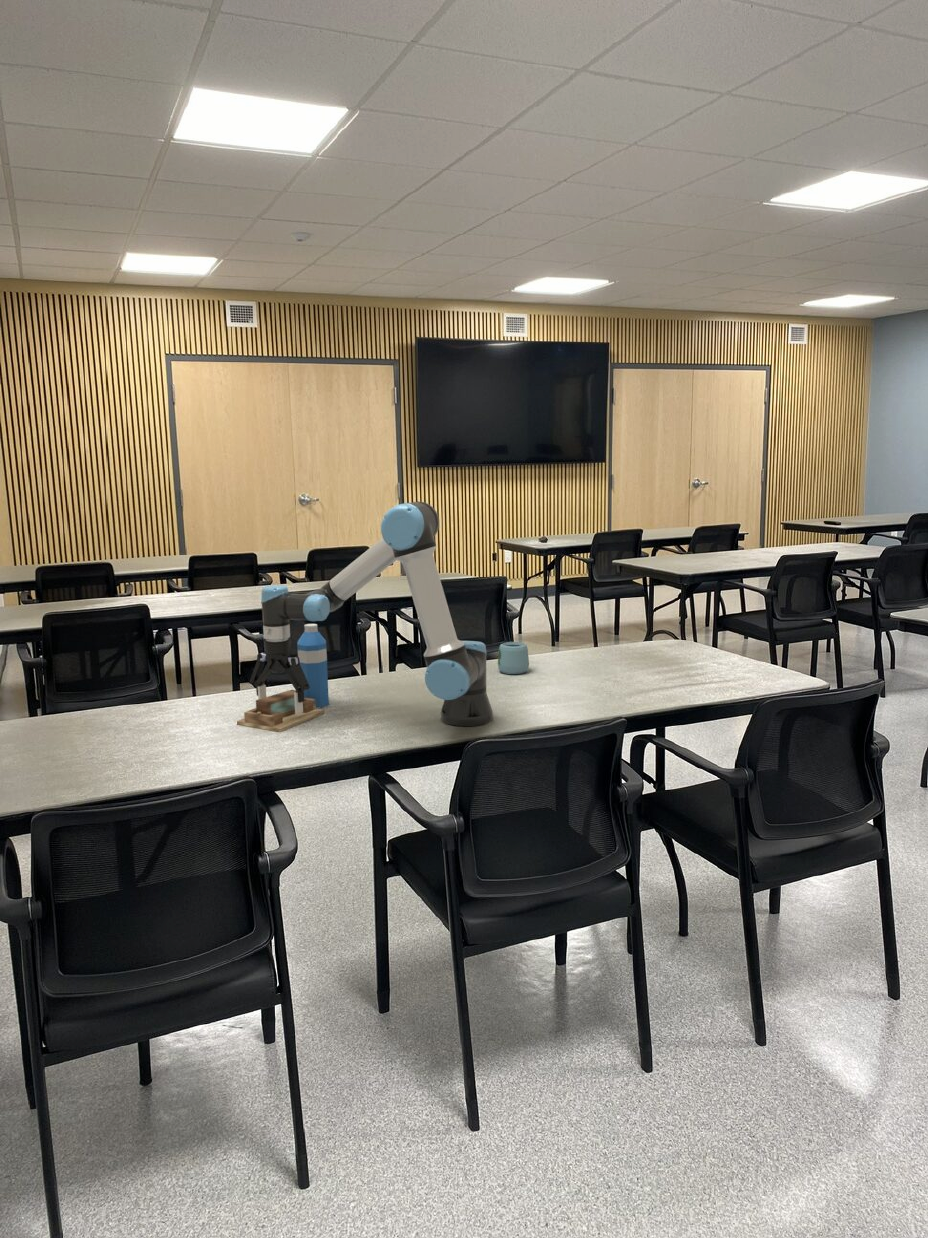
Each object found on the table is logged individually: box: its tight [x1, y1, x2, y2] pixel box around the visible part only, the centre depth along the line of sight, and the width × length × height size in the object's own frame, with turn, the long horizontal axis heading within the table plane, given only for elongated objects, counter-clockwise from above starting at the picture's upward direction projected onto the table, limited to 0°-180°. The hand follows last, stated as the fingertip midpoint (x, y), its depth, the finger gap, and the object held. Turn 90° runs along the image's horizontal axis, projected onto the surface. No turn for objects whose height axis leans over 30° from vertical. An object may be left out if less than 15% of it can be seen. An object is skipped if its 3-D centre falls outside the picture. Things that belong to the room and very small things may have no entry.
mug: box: [497, 641, 530, 675], centre depth 317 cm, size 15×11×10 cm
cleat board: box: [236, 698, 325, 733], centre depth 263 cm, size 16×20×5 cm
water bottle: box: [296, 623, 330, 709], centre depth 277 cm, size 9×9×25 cm
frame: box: [255, 689, 296, 718], centre depth 263 cm, size 14×5×6 cm, turn 144°
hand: (280, 710), depth 263 cm, fingers open, 13 cm apart
